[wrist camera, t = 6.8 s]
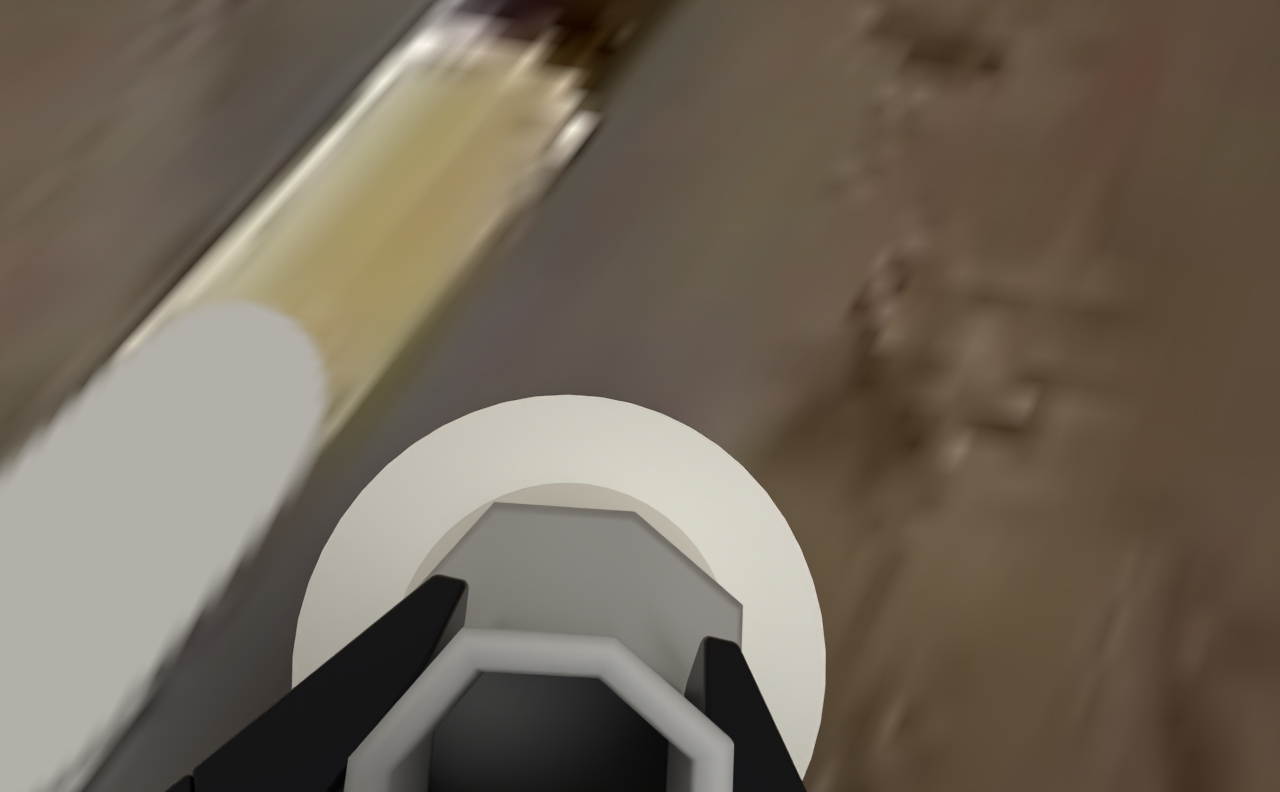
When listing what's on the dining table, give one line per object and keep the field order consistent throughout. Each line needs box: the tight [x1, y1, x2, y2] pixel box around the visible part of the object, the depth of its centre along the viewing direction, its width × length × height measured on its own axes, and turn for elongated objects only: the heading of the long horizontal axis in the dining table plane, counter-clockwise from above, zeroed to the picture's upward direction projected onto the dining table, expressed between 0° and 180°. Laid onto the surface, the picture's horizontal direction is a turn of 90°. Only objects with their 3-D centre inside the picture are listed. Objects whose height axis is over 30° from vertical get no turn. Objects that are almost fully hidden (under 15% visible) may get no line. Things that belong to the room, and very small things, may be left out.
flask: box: [344, 502, 743, 792], centre depth 11 cm, size 7×7×10 cm
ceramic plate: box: [292, 395, 826, 780], centre depth 22 cm, size 14×14×1 cm
